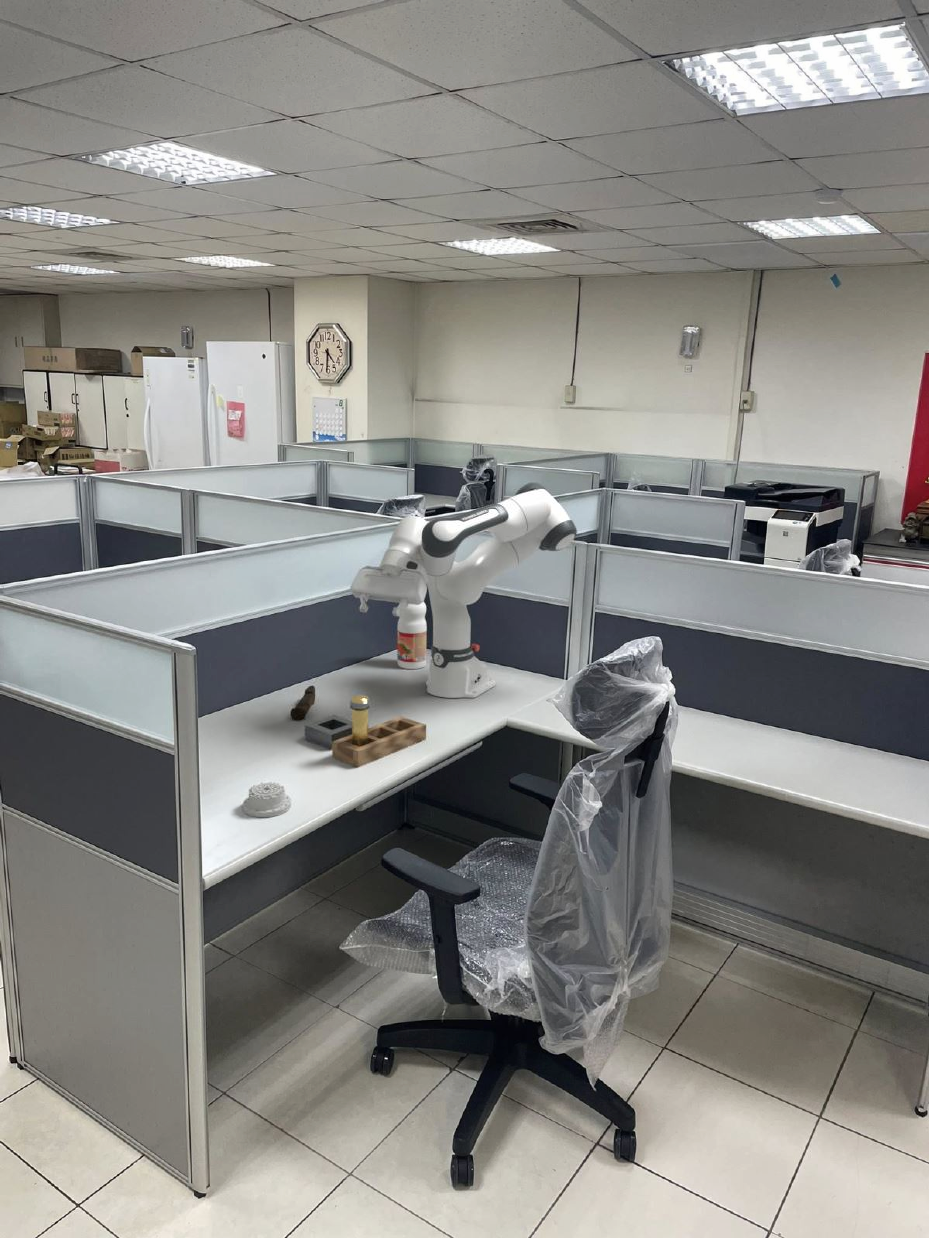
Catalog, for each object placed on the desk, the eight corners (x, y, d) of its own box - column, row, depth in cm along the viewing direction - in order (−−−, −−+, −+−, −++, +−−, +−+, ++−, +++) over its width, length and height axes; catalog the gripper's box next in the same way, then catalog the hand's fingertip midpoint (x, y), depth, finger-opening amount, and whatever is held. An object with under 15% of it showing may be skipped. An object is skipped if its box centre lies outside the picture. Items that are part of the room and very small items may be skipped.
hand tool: (304, 722, 239) (304, 705, 238) (290, 721, 239) (289, 704, 238) (323, 699, 257) (322, 684, 256) (309, 698, 257) (309, 683, 256)
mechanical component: (299, 801, 192) (257, 794, 195) (298, 782, 191) (257, 776, 194) (277, 821, 183) (234, 814, 186) (276, 801, 182) (233, 795, 184)
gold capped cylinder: (357, 751, 219) (356, 693, 216) (373, 754, 217) (373, 696, 214) (346, 757, 215) (346, 699, 212) (363, 761, 213) (362, 702, 210)
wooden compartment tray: (400, 730, 233) (400, 716, 232) (426, 739, 228) (426, 724, 227) (332, 757, 215) (332, 741, 214) (358, 767, 210) (358, 751, 209)
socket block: (334, 729, 233) (334, 714, 232) (360, 738, 227) (360, 724, 226) (305, 739, 226) (304, 724, 225) (331, 749, 220) (331, 734, 219)
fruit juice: (427, 669, 287) (429, 584, 280) (398, 670, 285) (399, 584, 278) (424, 660, 296) (425, 578, 289) (396, 661, 294) (396, 578, 287)
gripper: (357, 558, 235) (338, 602, 228) (427, 565, 227) (410, 610, 221) (365, 572, 240) (347, 615, 233) (434, 579, 232) (418, 624, 226)
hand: (378, 613), depth 227 cm, fingers open, 8 cm apart
